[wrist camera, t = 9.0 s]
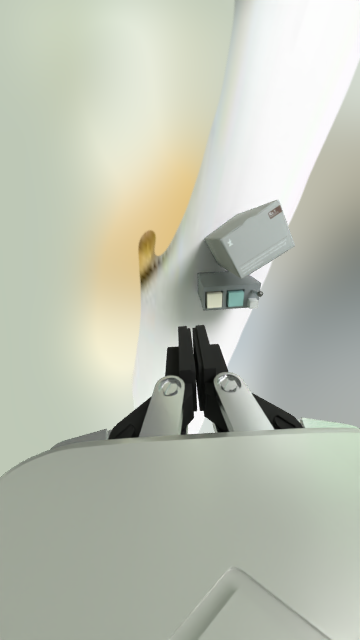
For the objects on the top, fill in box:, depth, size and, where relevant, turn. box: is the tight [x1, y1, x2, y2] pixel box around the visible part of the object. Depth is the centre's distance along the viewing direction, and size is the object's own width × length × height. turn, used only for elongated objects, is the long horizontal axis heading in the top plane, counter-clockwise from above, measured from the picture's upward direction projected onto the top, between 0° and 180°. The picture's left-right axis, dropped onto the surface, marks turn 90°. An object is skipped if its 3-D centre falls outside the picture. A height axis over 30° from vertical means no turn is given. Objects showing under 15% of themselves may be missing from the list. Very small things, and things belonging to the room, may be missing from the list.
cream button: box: [205, 291, 222, 308], centre depth 34 cm, size 3×3×3 cm
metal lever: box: [251, 289, 263, 297], centre depth 31 cm, size 1×1×4 cm
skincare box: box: [204, 200, 295, 279], centre depth 31 cm, size 8×7×16 cm
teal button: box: [226, 289, 244, 307], centre depth 34 cm, size 3×3×3 cm
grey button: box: [247, 298, 259, 309], centre depth 33 cm, size 1×1×1 cm
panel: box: [198, 271, 261, 310], centre depth 37 cm, size 4×10×10 cm, turn 94°
